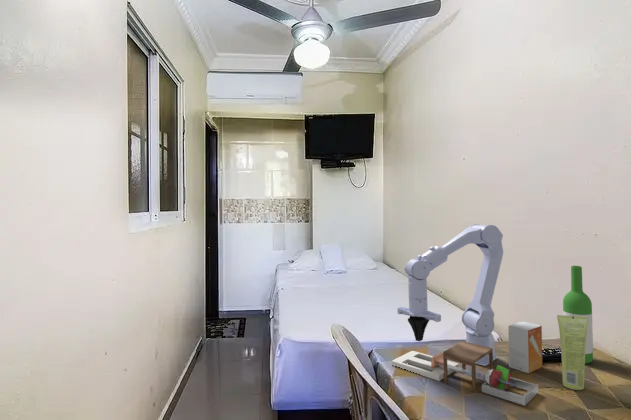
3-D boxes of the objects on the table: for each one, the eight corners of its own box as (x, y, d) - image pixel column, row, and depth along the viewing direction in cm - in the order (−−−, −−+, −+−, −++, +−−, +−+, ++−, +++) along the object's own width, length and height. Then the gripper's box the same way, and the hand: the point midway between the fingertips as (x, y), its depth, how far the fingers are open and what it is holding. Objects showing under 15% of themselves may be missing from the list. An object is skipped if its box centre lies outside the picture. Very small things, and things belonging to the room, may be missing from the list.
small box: (529, 374, 117) (528, 330, 117) (508, 367, 122) (507, 325, 122) (543, 367, 121) (542, 325, 121) (522, 361, 127) (521, 320, 127)
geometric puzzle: (505, 374, 112) (491, 355, 110) (525, 384, 106) (511, 363, 104) (489, 393, 110) (475, 374, 108) (509, 405, 104) (494, 384, 102)
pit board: (412, 354, 134) (412, 350, 134) (458, 368, 122) (458, 363, 122) (391, 365, 126) (391, 360, 126) (439, 380, 114) (439, 375, 114)
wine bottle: (564, 353, 132) (562, 263, 131) (593, 358, 127) (591, 265, 127) (563, 361, 125) (561, 267, 125) (593, 366, 121) (590, 268, 121)
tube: (571, 380, 112) (569, 312, 112) (590, 387, 107) (588, 316, 107) (558, 385, 109) (556, 314, 109) (577, 392, 105) (575, 319, 105)
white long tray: (444, 364, 125) (444, 350, 124) (538, 392, 105) (537, 375, 105) (428, 374, 118) (427, 359, 118) (525, 405, 98) (524, 387, 98)
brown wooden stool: (463, 369, 121) (462, 341, 121) (493, 378, 115) (492, 348, 115) (444, 382, 113) (443, 351, 113) (474, 392, 106) (474, 360, 106)
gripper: (391, 296, 128) (392, 338, 128) (432, 303, 117) (433, 349, 117) (403, 292, 133) (405, 332, 133) (443, 298, 122) (445, 342, 122)
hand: (419, 340), depth 125 cm, fingers closed
